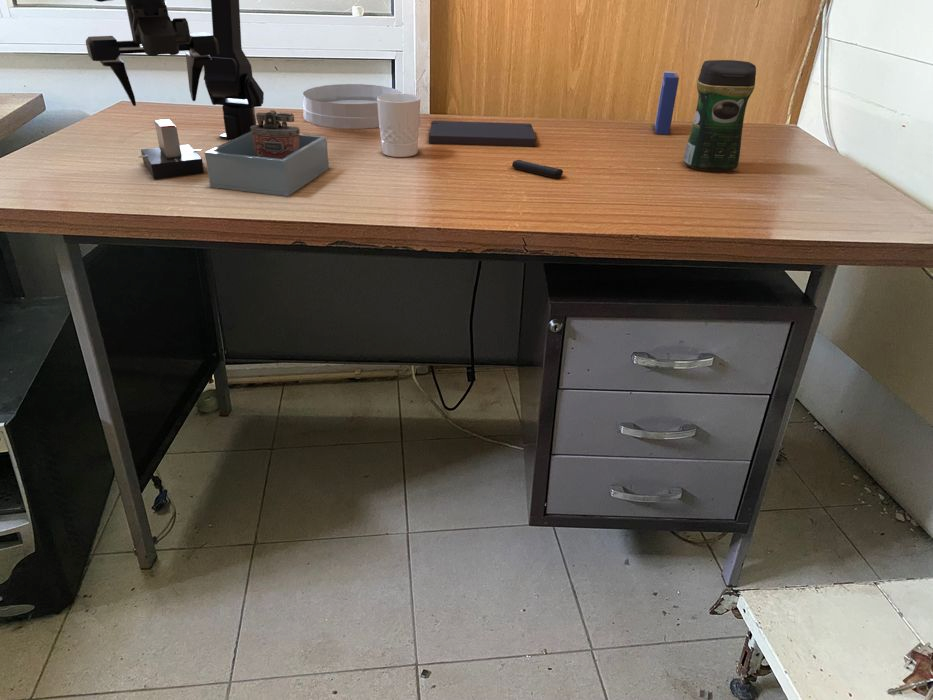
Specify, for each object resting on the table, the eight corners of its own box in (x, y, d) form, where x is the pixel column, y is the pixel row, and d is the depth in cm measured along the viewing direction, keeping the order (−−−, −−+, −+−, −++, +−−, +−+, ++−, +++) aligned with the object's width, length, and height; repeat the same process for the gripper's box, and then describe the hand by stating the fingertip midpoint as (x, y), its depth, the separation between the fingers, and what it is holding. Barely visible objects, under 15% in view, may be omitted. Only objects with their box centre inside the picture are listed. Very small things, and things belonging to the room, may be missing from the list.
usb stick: (564, 176, 123) (565, 167, 122) (556, 180, 121) (557, 171, 120) (518, 166, 127) (519, 157, 126) (510, 169, 125) (511, 160, 125)
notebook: (428, 143, 139) (535, 146, 139) (428, 135, 138) (536, 138, 138) (431, 127, 150) (530, 131, 150) (431, 120, 149) (531, 123, 149)
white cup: (414, 159, 129) (413, 103, 124) (373, 156, 130) (371, 100, 125) (425, 148, 135) (425, 95, 130) (386, 145, 137) (384, 92, 131)
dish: (363, 102, 170) (362, 80, 167) (424, 119, 157) (424, 95, 154) (284, 114, 156) (281, 91, 154) (342, 134, 143) (341, 109, 140)
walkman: (669, 135, 151) (679, 76, 144) (656, 134, 151) (665, 75, 145) (667, 126, 157) (677, 69, 151) (654, 125, 158) (663, 69, 152)
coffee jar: (729, 161, 134) (752, 57, 124) (740, 174, 127) (766, 65, 117) (678, 159, 134) (697, 55, 125) (687, 171, 127) (707, 62, 118)
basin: (258, 161, 125) (254, 129, 122) (328, 168, 122) (326, 136, 120) (210, 187, 112) (204, 152, 109) (287, 196, 109) (284, 160, 107)
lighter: (252, 174, 117) (244, 112, 111) (260, 168, 119) (252, 107, 114) (299, 177, 116) (293, 115, 111) (306, 171, 119) (300, 110, 114)
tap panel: (136, 164, 121) (133, 148, 120) (197, 157, 126) (194, 142, 125) (147, 180, 114) (143, 164, 113) (211, 172, 119) (208, 157, 117)
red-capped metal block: (160, 150, 120) (153, 118, 118) (174, 148, 121) (168, 117, 119) (166, 159, 116) (160, 126, 113) (181, 157, 117) (176, 125, 114)
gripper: (83, 2, 96) (109, 119, 104) (220, 0, 105) (235, 108, 113) (74, -5, 104) (99, 104, 112) (202, -7, 113) (217, 94, 121)
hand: (164, 103), depth 114 cm, fingers open, 9 cm apart
